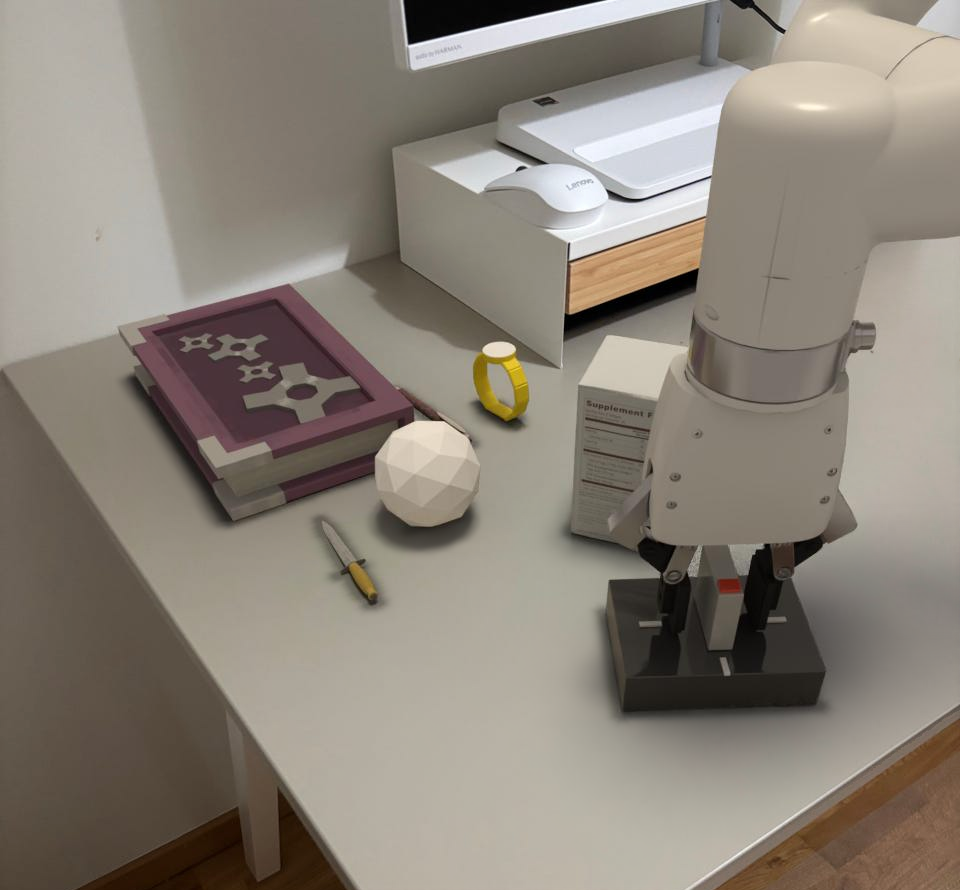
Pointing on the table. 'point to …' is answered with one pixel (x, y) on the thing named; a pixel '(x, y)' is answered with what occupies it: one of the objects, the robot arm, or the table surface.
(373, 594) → the dagger
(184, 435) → the book
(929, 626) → the table surface
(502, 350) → the watch
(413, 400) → the pen
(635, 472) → the white packaging box
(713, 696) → the panel
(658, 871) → the table surface
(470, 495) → the ball
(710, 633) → the box with red button
